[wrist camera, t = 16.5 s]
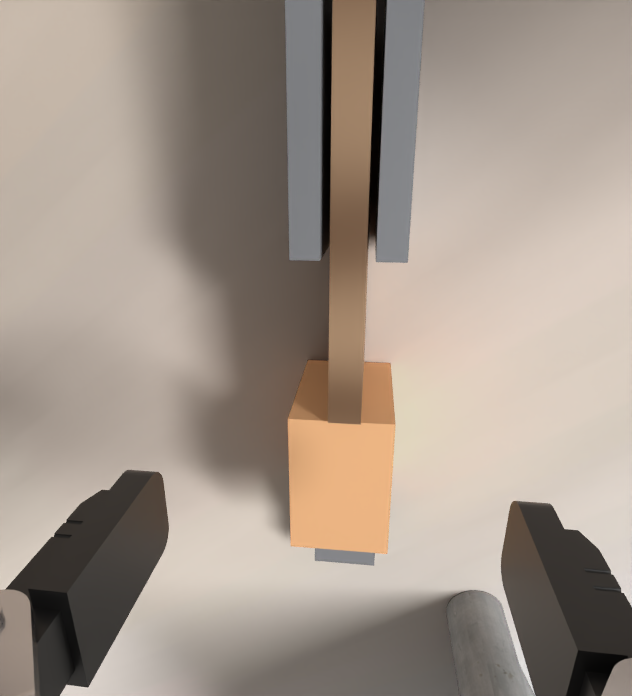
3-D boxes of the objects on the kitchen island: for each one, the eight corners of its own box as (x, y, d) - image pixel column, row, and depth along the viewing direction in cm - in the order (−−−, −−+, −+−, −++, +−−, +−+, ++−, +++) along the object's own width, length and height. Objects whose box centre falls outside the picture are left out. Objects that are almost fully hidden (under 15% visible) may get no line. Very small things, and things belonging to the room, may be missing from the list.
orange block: (307, 359, 24) (287, 419, 19) (390, 363, 24) (395, 424, 18) (308, 464, 26) (290, 546, 21) (384, 469, 26) (387, 553, 20)
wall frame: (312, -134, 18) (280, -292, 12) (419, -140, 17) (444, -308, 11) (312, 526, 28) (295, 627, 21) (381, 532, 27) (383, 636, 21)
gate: (345, 24, 19) (332, -37, 13) (376, 23, 19) (377, -38, 13) (338, 363, 24) (327, 422, 18) (363, 364, 24) (360, 424, 18)
